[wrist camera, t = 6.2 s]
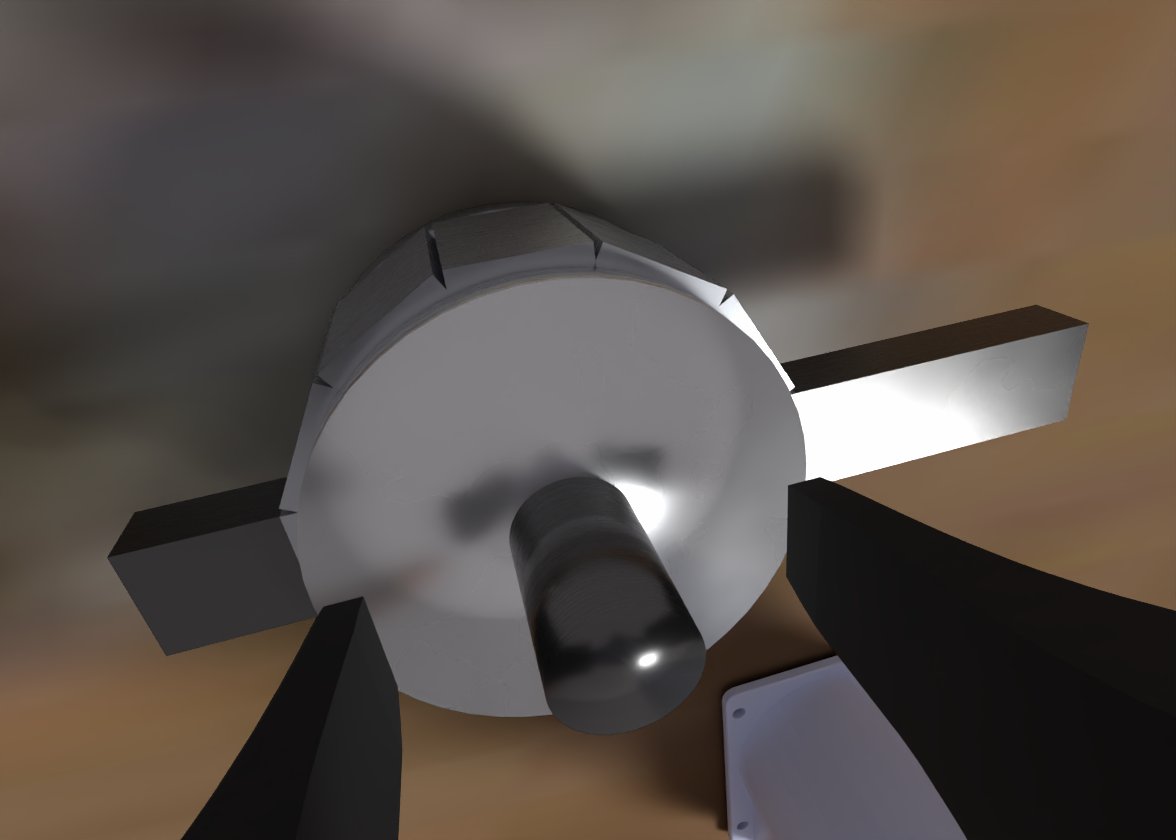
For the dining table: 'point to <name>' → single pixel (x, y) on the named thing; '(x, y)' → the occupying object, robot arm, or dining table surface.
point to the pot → (579, 239)
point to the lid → (554, 495)
